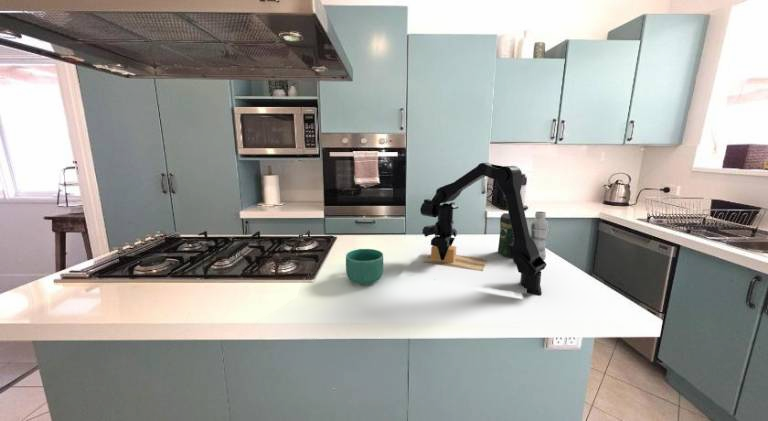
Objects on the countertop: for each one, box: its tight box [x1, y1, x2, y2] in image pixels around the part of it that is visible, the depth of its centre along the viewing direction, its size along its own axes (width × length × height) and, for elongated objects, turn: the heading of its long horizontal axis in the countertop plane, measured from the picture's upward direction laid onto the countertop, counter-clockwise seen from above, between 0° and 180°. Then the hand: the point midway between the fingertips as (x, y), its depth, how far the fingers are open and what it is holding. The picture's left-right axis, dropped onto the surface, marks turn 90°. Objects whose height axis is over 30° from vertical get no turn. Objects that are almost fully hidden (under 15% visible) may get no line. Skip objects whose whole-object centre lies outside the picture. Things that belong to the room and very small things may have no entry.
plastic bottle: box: [530, 211, 550, 261], centre depth 121 cm, size 6×7×20 cm
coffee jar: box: [497, 212, 514, 259], centre depth 125 cm, size 10×8×19 cm
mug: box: [345, 248, 384, 286], centre depth 104 cm, size 17×12×10 cm
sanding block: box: [430, 245, 457, 263], centre depth 120 cm, size 5×9×5 cm, turn 66°
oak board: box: [423, 253, 488, 272], centre depth 119 cm, size 14×22×2 cm, turn 66°
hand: (443, 257), depth 120 cm, fingers closed on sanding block, 5 cm apart
